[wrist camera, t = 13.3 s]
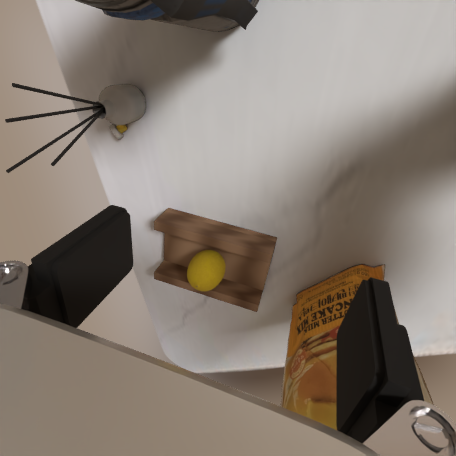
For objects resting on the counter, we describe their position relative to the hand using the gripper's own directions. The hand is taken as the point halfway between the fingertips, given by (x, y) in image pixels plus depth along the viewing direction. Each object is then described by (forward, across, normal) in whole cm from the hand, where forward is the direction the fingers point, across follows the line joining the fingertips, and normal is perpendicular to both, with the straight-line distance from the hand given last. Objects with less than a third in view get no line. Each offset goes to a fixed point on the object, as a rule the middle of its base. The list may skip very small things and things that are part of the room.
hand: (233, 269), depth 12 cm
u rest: (+30, +9, +23) cm, 38 cm away
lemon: (+28, +9, +22) cm, 37 cm away
